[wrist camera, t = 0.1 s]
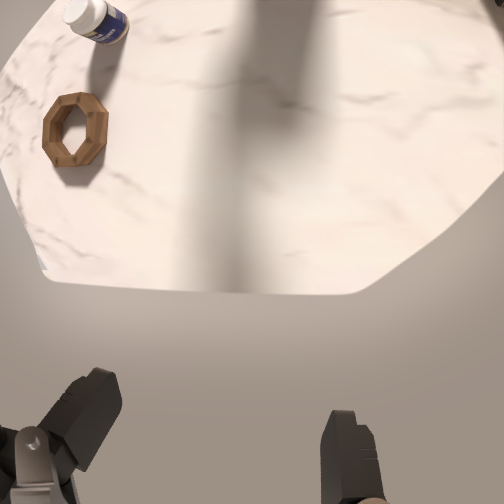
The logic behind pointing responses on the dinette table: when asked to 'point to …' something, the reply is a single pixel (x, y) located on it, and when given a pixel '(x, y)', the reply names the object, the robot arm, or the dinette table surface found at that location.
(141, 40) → the dinette table surface
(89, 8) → the pill bottle
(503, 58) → the dinette table surface
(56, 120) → the walnut ring
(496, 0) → the ammunition clip
